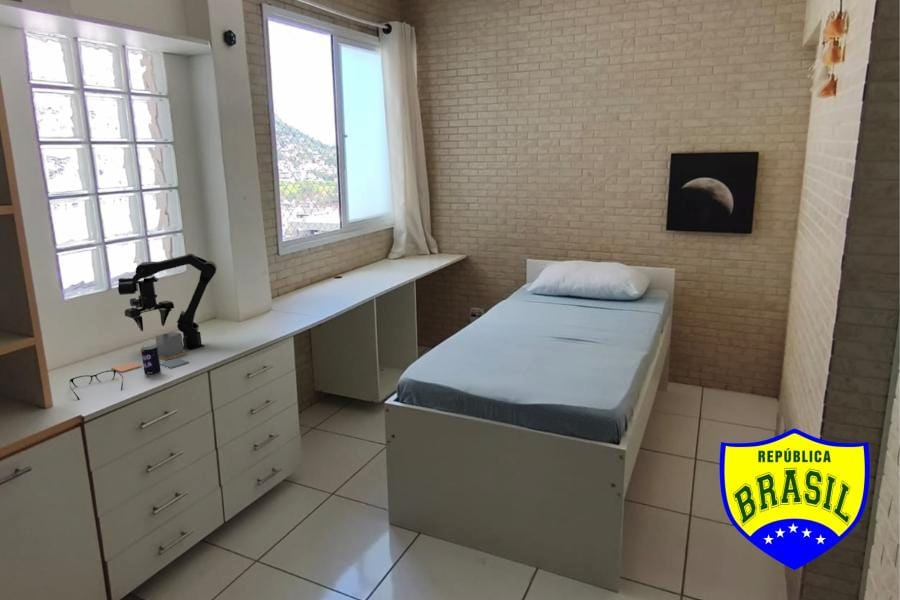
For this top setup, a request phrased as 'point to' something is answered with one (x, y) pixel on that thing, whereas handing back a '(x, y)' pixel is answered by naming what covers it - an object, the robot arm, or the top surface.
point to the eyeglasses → (91, 379)
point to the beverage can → (150, 359)
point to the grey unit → (170, 345)
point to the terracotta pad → (126, 367)
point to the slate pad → (174, 363)
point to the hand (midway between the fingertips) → (152, 328)
